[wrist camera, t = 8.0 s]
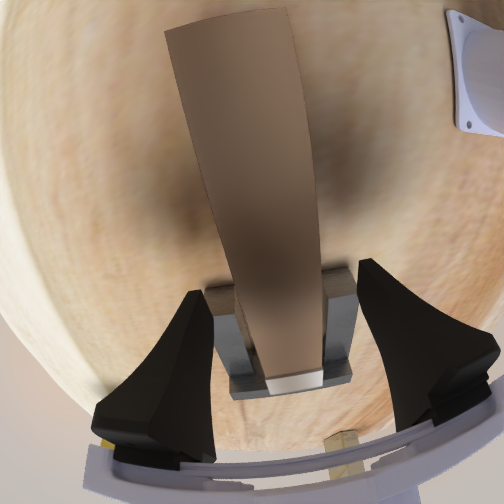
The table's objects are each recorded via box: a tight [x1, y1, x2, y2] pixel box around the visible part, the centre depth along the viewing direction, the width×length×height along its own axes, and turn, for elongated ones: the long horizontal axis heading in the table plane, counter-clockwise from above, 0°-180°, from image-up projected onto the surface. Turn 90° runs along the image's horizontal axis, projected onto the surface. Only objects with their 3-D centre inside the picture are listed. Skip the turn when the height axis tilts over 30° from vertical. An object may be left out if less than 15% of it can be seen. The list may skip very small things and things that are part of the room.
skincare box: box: [324, 430, 365, 480], centre depth 39 cm, size 6×4×12 cm
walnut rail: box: [164, 7, 323, 395], centre depth 13 cm, size 4×20×5 cm, turn 11°
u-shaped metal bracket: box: [204, 267, 359, 400], centre depth 18 cm, size 10×9×4 cm
